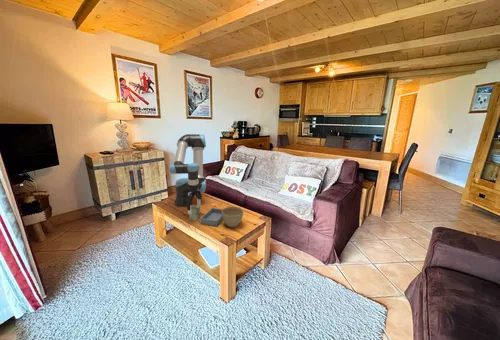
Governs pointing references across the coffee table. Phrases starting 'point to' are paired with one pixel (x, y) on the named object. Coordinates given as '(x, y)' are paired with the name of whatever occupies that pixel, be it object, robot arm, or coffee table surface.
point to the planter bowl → (232, 216)
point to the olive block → (195, 213)
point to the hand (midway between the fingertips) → (194, 210)
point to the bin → (212, 217)
